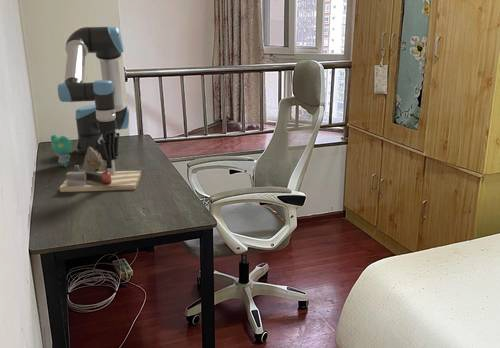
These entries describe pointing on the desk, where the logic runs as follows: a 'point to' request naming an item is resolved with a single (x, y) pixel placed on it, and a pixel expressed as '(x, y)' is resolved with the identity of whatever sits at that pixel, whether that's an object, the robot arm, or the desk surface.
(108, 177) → the lever
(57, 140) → the toy
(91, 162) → the rock
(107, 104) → the robot arm
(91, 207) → the desk surface
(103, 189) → the board
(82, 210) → the desk surface
